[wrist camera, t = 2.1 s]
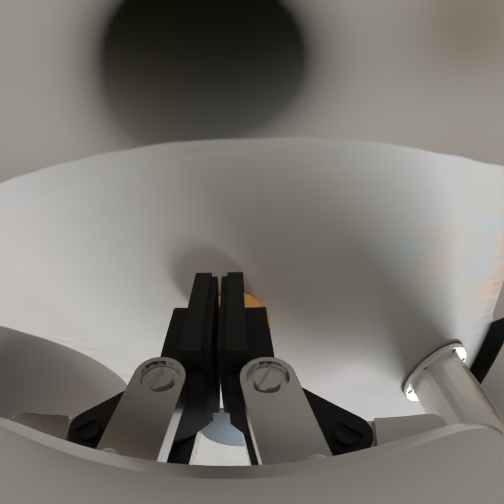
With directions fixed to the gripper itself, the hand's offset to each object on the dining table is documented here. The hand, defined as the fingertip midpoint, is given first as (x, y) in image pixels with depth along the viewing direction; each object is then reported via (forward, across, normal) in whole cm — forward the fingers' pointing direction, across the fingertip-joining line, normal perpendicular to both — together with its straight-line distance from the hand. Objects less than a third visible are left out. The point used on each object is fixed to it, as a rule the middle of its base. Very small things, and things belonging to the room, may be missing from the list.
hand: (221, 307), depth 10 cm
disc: (+14, 0, +34) cm, 37 cm away
